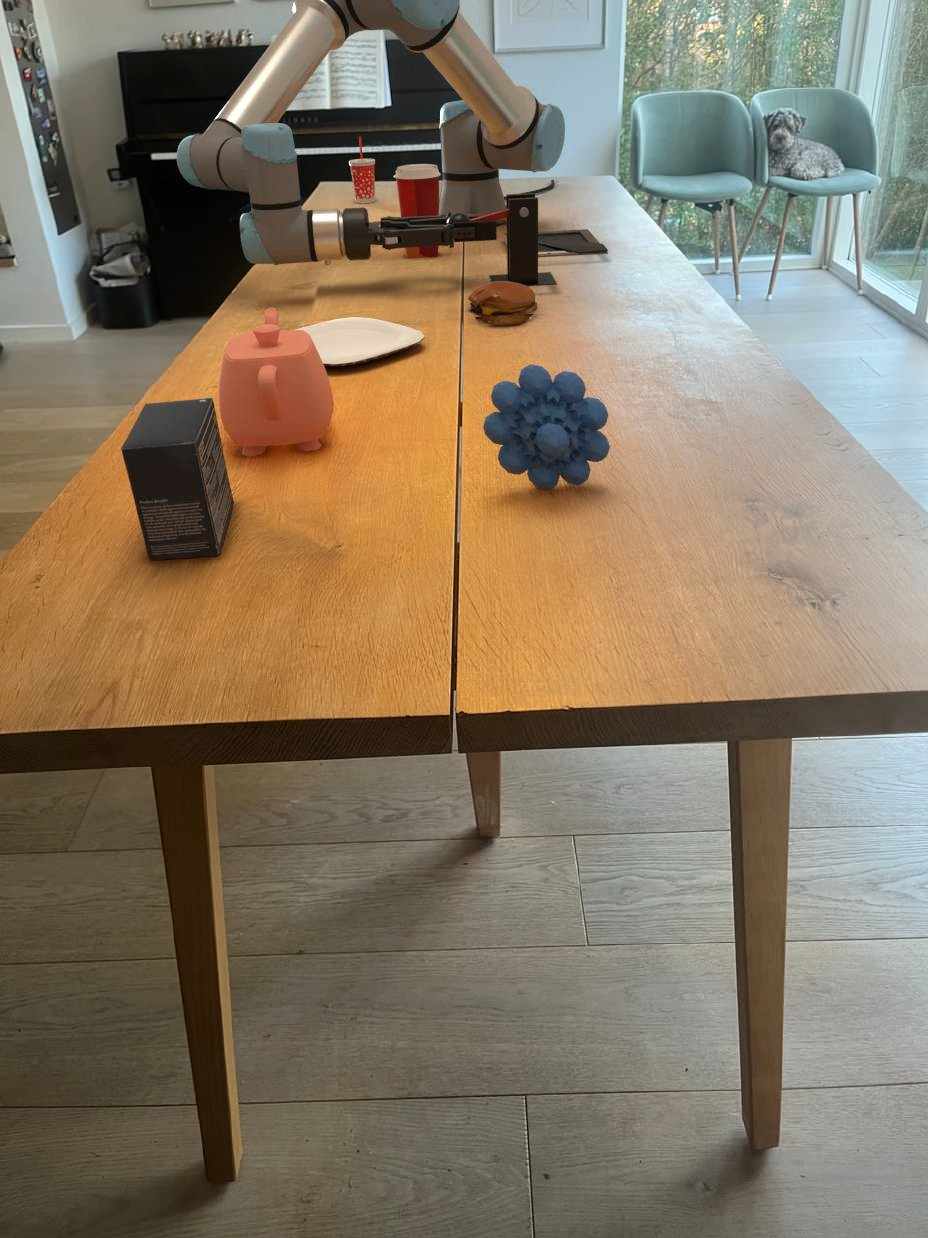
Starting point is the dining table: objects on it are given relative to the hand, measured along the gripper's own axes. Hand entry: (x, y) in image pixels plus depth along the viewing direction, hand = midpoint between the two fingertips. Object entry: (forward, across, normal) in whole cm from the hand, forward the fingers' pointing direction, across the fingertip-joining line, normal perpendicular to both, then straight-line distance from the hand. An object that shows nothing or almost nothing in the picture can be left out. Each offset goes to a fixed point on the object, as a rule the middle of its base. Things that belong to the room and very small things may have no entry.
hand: (494, 227), depth 152 cm
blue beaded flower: (-1, +77, -10) cm, 78 cm away
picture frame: (+13, -26, -10) cm, 31 cm away
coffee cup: (-11, -29, -10) cm, 32 cm away
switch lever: (0, 0, -1) cm, 1 cm away
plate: (-23, +28, -10) cm, 37 cm away
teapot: (-28, +59, -10) cm, 66 cm away
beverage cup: (-24, -91, -10) cm, 95 cm away
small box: (-34, +81, -10) cm, 88 cm away
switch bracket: (+4, 0, -10) cm, 10 cm away
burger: (0, +16, -10) cm, 19 cm away
